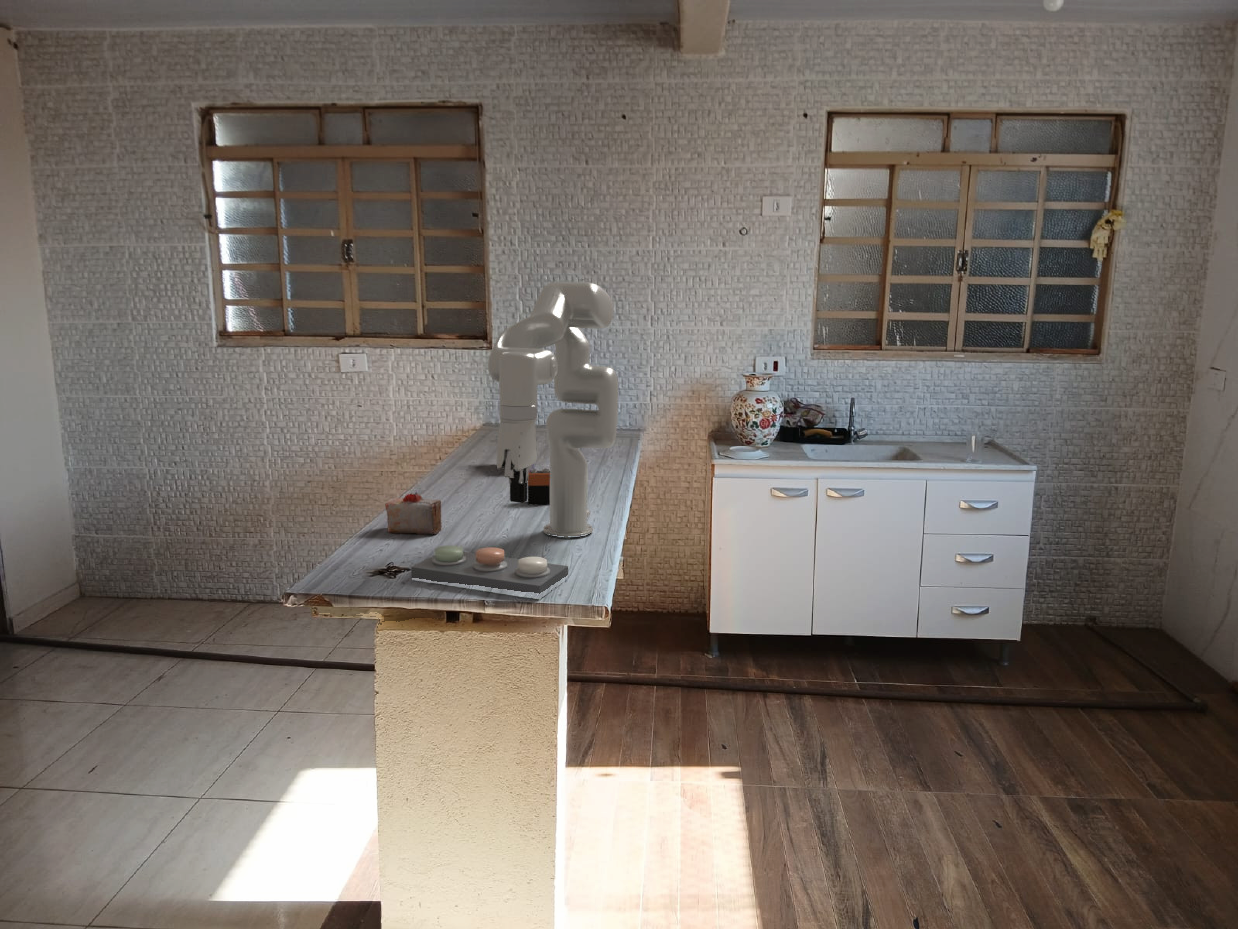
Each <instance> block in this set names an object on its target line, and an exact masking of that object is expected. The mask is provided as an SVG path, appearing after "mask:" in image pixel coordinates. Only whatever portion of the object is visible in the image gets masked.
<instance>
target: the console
mask: <svg viewBox="0 0 1238 929" xmlns="http://www.w3.org/2000/svg"><path fill="white" fill-rule="evenodd" d="M518 560H519V559H518V558H513V557H512V558H511V557H505V556H504V561H503V562H500V563H496V564H482V563H478V562H477V561H476V552H467V551H463V558H462V559H461V560H458V561H453V562H442V561H438V560H436V559H435V554H434V555H432V556H430V557H428V558H426V559H424V560H422V561H421V562H418V563H417V564H415V565H412V566H410V570H411V571H410V576H411V577H410V579H411V578H419V579H426V580H431V581H437V582H448V583H459V584H465V585H466V584H467V585H479V586H485V587H491V588H498V589H507V590H514V591H521V592H534V593H539V594H540V593H541V592H543V591H545V590H546V589H548V588H549V587H550V586H551V585H554V584H555V583H556V582H558V581H560V580H561V579H562V578H564V577H566V576H567V575H568V576H569V565H563V564H555V563H549V562H547V571H545V572H543V573H538V574H526V573H522V572H520V571H519V570H518Z"/></svg>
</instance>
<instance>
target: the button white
mask: <svg viewBox="0 0 1238 929" xmlns="http://www.w3.org/2000/svg"><path fill="white" fill-rule="evenodd" d="M547 563H548V559H546V558H544V557H541V556H527V557H522V558H520V559H519V560H518V570H519V571H520V572H522V573H526V574H538V573H543V572H545V571H547Z"/></svg>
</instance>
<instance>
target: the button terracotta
mask: <svg viewBox="0 0 1238 929" xmlns="http://www.w3.org/2000/svg"><path fill="white" fill-rule="evenodd" d="M475 553H476V561H477V562H478V563H482V564H496V563H500V562H503V561H504V557H505V550H504V549H503V548H500V547H482V548H478V549H476V550H475Z"/></svg>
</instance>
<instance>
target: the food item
mask: <svg viewBox="0 0 1238 929" xmlns="http://www.w3.org/2000/svg"><path fill="white" fill-rule="evenodd" d="M384 508H385V510H386V516H387V517H386V518H387V532H388V533H389V534H409V533H417V534H416V535H425V534H426V535H427V534H436V535H437V534H439V533H440V532H441V531H442V501H441V500H440V499H432V498H431V499H429V498H422V496H421V495H419V494H418V492H415V493H411V492H410V493H408V494H406V495H405V496H404V498H403V497H398V498H395V497H394V498H390V499H388V500H387V501H386V502H385V504H384ZM439 531H440V532H439Z"/></svg>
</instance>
